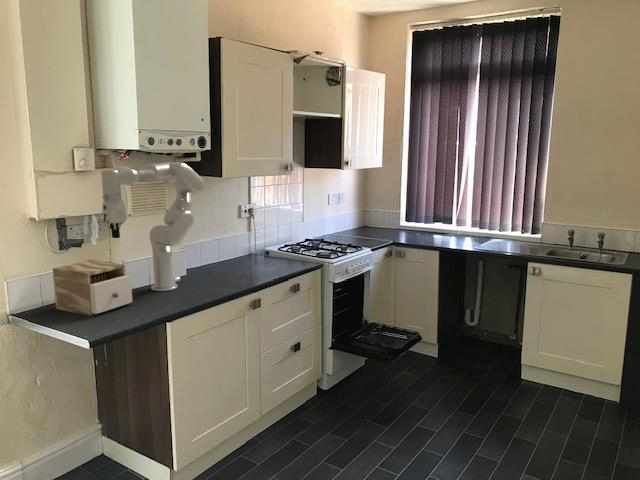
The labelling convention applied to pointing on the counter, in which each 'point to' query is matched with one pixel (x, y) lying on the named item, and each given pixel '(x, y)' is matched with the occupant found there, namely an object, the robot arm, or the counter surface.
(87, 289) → the cabinet
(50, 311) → the counter surface
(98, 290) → the drawer
